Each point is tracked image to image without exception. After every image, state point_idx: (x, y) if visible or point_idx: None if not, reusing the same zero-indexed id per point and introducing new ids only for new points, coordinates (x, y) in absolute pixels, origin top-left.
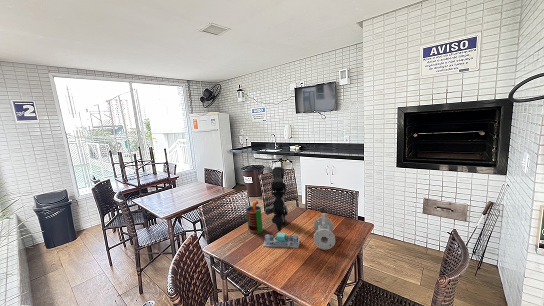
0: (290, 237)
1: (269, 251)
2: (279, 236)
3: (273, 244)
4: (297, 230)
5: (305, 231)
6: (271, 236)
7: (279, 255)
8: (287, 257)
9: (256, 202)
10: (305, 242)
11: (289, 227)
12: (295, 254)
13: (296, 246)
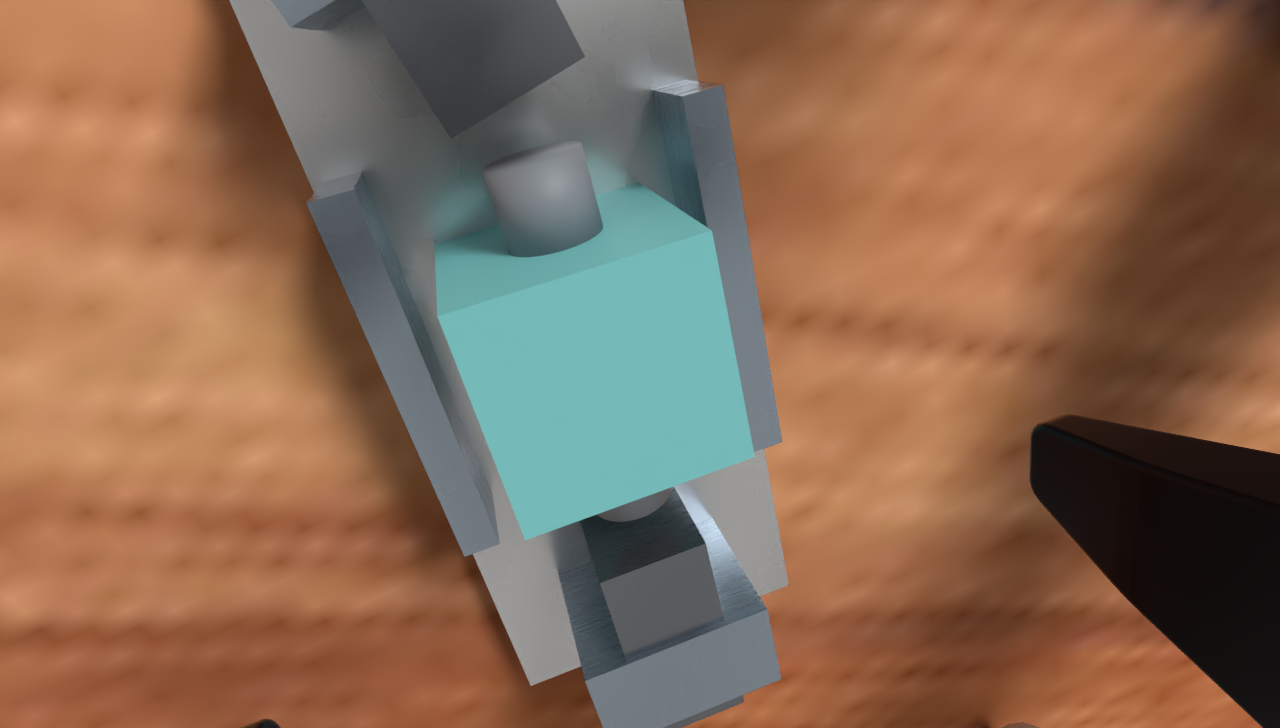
0: (624, 606)
1: (20, 159)
2: (478, 401)
3: (336, 160)
4: (1108, 377)
5: None
6: (458, 38)
7: (41, 482)
8: (94, 648)
9: None
10: None
11: (1231, 167)
12: (292, 708)
13: (516, 649)
